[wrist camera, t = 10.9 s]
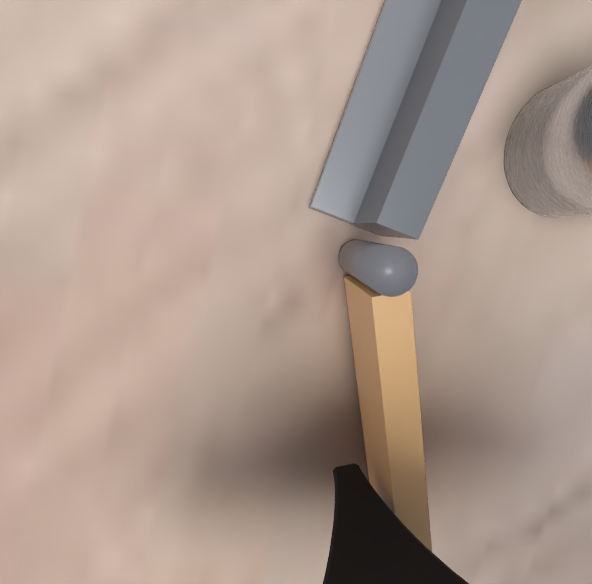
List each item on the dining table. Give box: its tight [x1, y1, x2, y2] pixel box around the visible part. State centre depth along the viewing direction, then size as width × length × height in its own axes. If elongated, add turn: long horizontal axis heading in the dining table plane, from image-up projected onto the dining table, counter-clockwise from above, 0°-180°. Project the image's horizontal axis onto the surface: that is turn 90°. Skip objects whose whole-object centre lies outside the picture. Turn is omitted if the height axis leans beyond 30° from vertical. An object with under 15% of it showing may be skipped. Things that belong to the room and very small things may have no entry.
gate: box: [339, 240, 432, 552], centre depth 11 cm, size 12×1×4 cm, turn 9°
